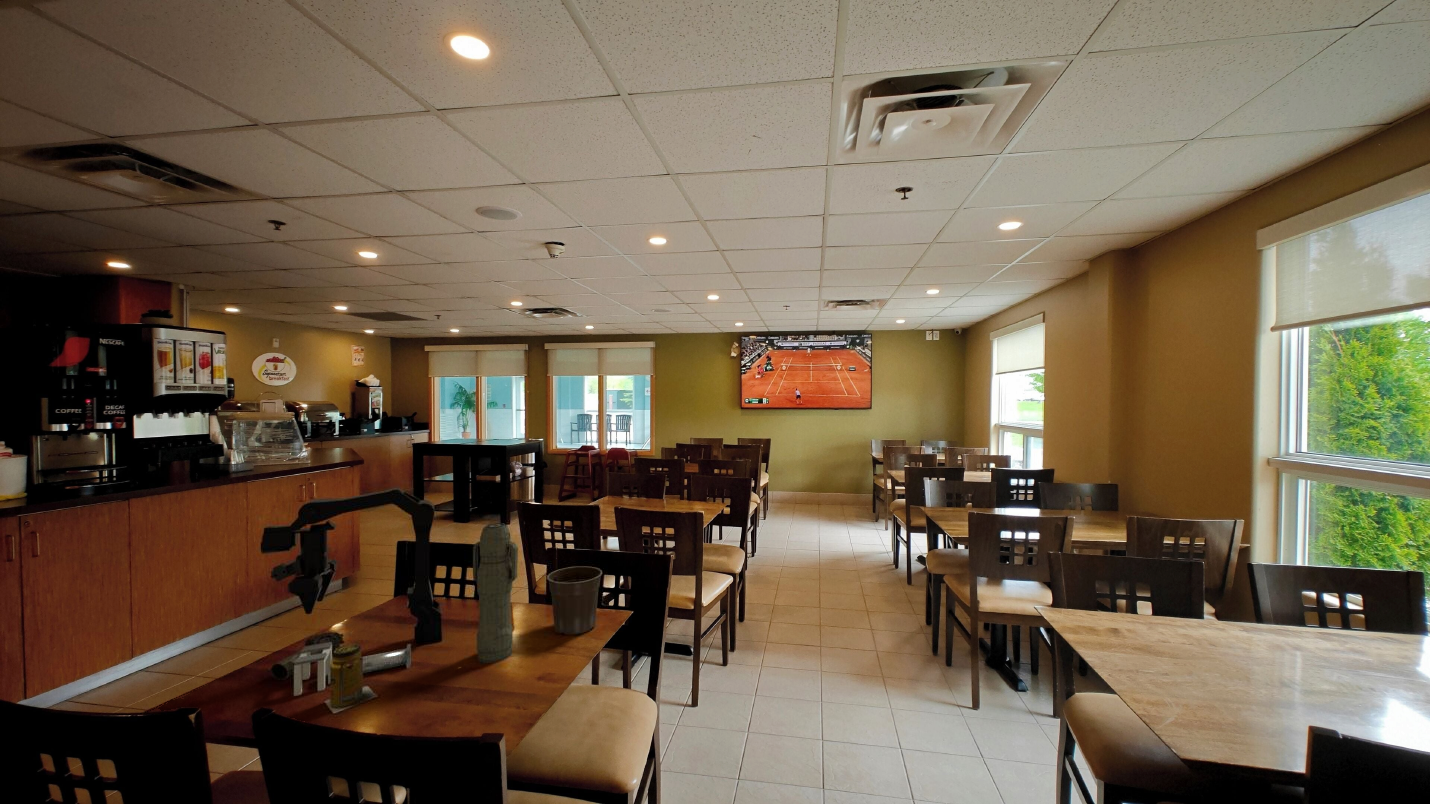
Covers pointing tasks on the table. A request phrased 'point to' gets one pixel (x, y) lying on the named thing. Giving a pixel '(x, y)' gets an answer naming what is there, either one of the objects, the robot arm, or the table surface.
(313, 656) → the grey staple-shaped bracket
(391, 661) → the air tube
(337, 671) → the condiment
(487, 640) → the grey stone statue
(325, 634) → the dark piece
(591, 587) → the plant pot
